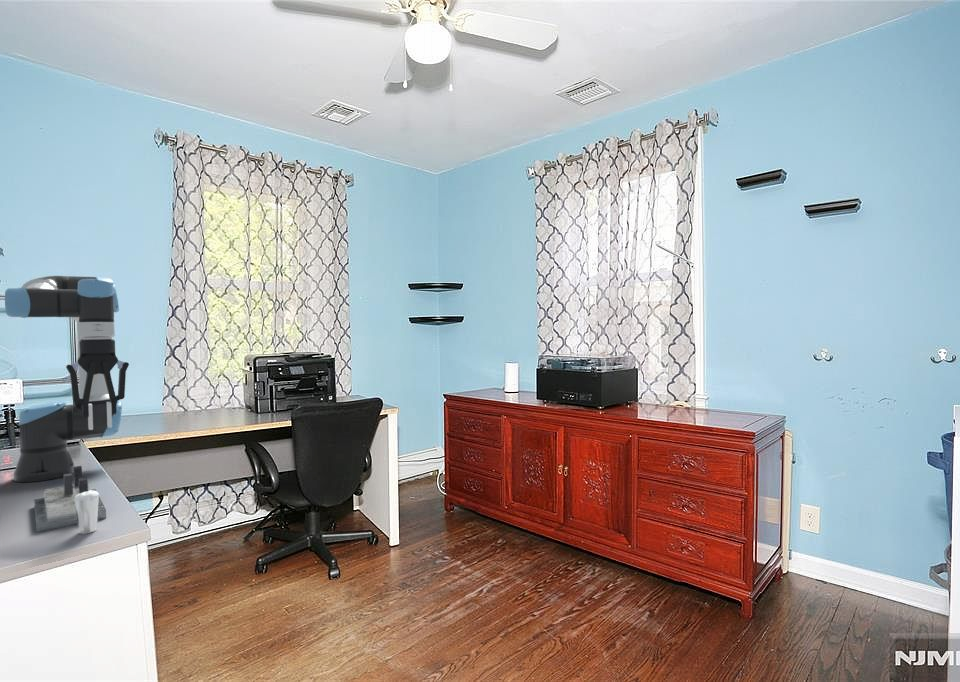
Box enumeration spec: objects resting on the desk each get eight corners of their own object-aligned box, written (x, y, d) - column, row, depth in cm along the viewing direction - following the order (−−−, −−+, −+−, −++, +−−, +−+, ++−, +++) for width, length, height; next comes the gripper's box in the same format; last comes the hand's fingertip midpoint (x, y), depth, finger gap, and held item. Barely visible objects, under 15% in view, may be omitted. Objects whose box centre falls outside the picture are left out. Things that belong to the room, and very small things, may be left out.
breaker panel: (34, 507, 137) (33, 470, 137) (95, 496, 146) (94, 461, 146) (36, 532, 119) (35, 490, 119) (106, 517, 128) (104, 478, 128)
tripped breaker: (64, 493, 133) (63, 474, 133) (72, 491, 134) (71, 473, 134) (64, 495, 131) (64, 476, 131) (72, 494, 132) (72, 475, 132)
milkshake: (82, 527, 121) (81, 485, 121) (105, 527, 121) (103, 484, 121) (66, 535, 117) (65, 491, 117) (89, 535, 117) (88, 490, 117)
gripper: (57, 339, 128) (61, 434, 128) (136, 337, 139) (139, 425, 139) (56, 339, 134) (59, 430, 134) (132, 338, 144) (135, 422, 145)
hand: (100, 427), depth 137 cm, fingers open, 3 cm apart
